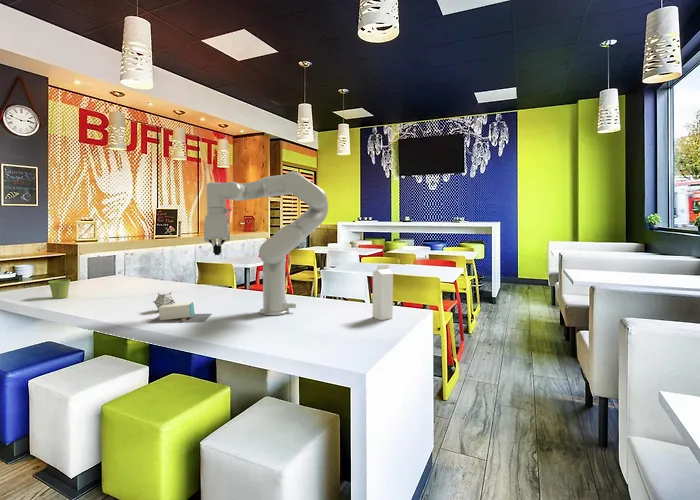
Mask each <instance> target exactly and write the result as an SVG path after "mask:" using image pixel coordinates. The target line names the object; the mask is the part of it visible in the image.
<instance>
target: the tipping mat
mask: <svg viewBox="0 0 700 500" xmlns="http://www.w3.org/2000/svg"><path fill="white" fill-rule="evenodd" d="M211 315H213V313H195V314H194V315H193V316H192V317H186V318H177V319H168V320H160V316H159V315H158V316H157V317H155V318H154V319H152V320H151V321H148V323H147V324H150V325H151V324H183V323H185V324H186V323H187V324H188V323H190V324H191V323H205V322H206V321H207V320H208V319H209V318H210V317H211Z"/></svg>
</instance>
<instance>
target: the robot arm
mask: <svg viewBox="0 0 700 500" xmlns="http://www.w3.org/2000/svg"><path fill="white" fill-rule="evenodd" d="M286 195H293V196H294V197H295V198H297V199H299V200H300V201H301V202H303V203H304V204H306V205H307V206H308V209H307V210H306V211H304V212H303V213H302V214H301V215H299V217H298V218H296V219H295V220H294V221H292V222H291V223H290V224H289V223H288V224H286V225H284V226H282V227H281V228H280V229H279V230H278V231H276V232H275V233H274V234H273V235H272V236H270V237H269V238H268V239H267V240H265V241H264V242H263V243H262V244H261V245H260V247H259V249H258V256H259V258H260V260H261V261H262V263H263V264H262V301H263V302H262V303H263V305H262V308H260V309H259V313H260V314H261V315H264V316H282V315H286V314H289V312H290V309H296V307H297V304H296V303H292V302H291V303H289V302H287V300H286V263H287V262H286V259H287V255H288V254H289V253H290V252H291V251H294V249H295V248H296V247H297V246H299V245H300V244H301V243H302V242H303V241H304V240H305V239H306V238H307V237H308V236H309V235H311V234H312V233H313V232H314V231H315V230H316V229H317V228H319V227H320V226H321V224H323V222H324V221H325V219H326V218H327V215H328V214H329V213H328V212H329V202H328V201H329V200H328V195H327V194H326V192H325V191H324V190H323V189H322V188H320V187H319V186H318V185H316V184H314V183H313V182H312V181H310V180H309V179H307V178H306V177H305V176H303V175H302V174H301V173H299V172H298V171H293V170H291V171H289V172H286V173H285V174H278V175H270V176H265V177H262V178H260V179H259V180H255V181H249V182H244V183H243V182H241V183H239V182H236V181H228V182H217V181H215V182H208V183H207V184H206V215H205V217H204V225H203V226H204V227H203V236H204V237H203V242H208V243H210V244H211V245H212V246H213V247H212V250H213V251H212V252H213V254H214V256H220V255H221V254H222V245H223V244H224V243H225V242H230V241H231V237H230V236H231V228H230V219H229V215H227V214H228V213H230V209H227V208H226V206H227V205H226V203H227V202H226V201H227V200H230V201H231V200H232V201H237V202H238V201H239V202H240V201H247V200H255V199H256V200H257V199H263V198H271V197H277V196H286ZM216 239H218V241H217V240H216Z"/></svg>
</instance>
